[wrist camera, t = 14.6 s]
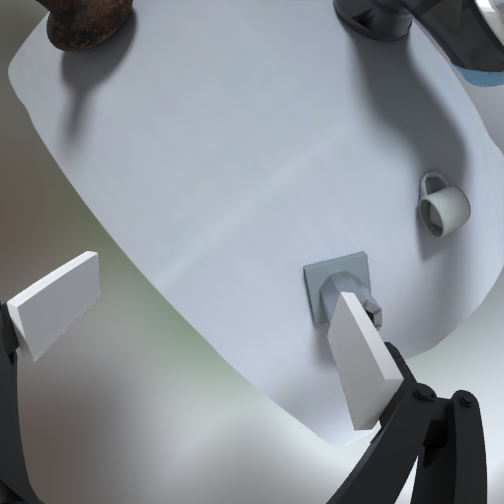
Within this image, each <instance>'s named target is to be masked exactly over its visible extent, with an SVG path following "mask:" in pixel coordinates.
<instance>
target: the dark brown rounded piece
mask: <svg viewBox="0 0 504 504" xmlns="http://www.w3.org/2000/svg"><path fill="white" fill-rule="evenodd" d="M36 1H38V2H39V3H41V4H42V5H43V6H44V7H45V8H47V9H48V10H49V11H50V14H49V17H48V20H47V35H48V38H49V40H50V42H51V43H52V44H53V45H54V46H55V47H56V48H58V49H60V50H63V51H68V52H75V51H82V50H85V49H89V48H91V47H94V46H96V45H98V44H100V43H102V42H103V41H105V40H106V39H108V38H109V37H110V36H112V35H113V34H114V33H115V32H116V31H117V30H118V29H119V28H120V27H121V25H122V24H123V23H124V21H125V20H126V18H127V17H128V15H129V13H130V10H131V8H132V3H133V0H36Z"/></svg>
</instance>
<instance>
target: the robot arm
mask: <svg viewBox="0 0 504 504" xmlns="http://www.w3.org/2000/svg"><path fill="white" fill-rule="evenodd" d="M333 3H334V7H335V9H336V11H337V13H338V15H339V16H340V17H341V18H342V20H343V21H344V22H345V23H346V24H347V25H349V26H350V27H351V28H352V29H354V30H355V31H357V32H359V33H360V34H362V35H364V36H366V37H369V38H372V39H375V40H379V41H394V40H397V39H400V38H401V37H402V36H404V35H405V34H406V33H407V32H408V31H409V29H410V28H411V25H412V19H413V17H415V18H416V19H417V20H418V21H419V22H420V24H421V25H422V26H423V27H424V28H425V29H426V30H427V31H428V33H429V34H430V35H431V36H432V37H433V38H434V39H435V41H436V42H437V43H438V44H439V46H440V47H441V48H442V49H443V51H444V52H445V53H446V55H447V56H448V57H449V59H450V61H451V63H452V64H453V65H454V66H455V67H456V68H457V69H458V70H459V72H460V73H461V74H462V76H463V77H464V78H465V80H467V81H468V82H469V83H471V84H472V85H475V86H479V87H492V86H498V85H503V84H504V0H333ZM100 298H101V293H100V281H99V268H98V253H95V252H90V251H86V252H85V253H83V254H81V255H80V256H78V257H76V258H74V259H73V260H71V261H69V262H68V263H66V264H64V265H63V266H61V267H60V268H58V269H56V270H55V271H53V272H51V273H50V274H48V275H47V276H45V277H44V278H42V279H41V280H39V281H37V282H36V283H34V284H33V285H31V286H29V287H27V288H26V289H24V291H22V292H20V293H19V294H17V295H16V296H14V297H13V298H11V299H10V300H9V301H7V302H6V303H4V304H3V305H1V302H0V504H45V503H43V502H42V501H40V500H39V499H38V497H37V495H36V494H35V492H34V491H33V489H32V487H31V485H30V483H29V479H28V475H27V470H26V465H25V460H24V455H23V449H22V442H21V435H20V426H19V415H18V399H17V353H16V349H17V348H18V347H19V346H20V349H21V351H22V354H23V357H25V358H27V359H28V360H30V361H32V362H35V361H36V360H37V359H38V358H39V357H40V356H41V355H42V354H43V353H44V352H45V351H46V350H47V349H48V348H49V347H50V346H51V345H52V344H53V343H54V342H55V341H56V340H57V339H58V338H59V337H60V336H61V335H62V334H63V333H64V332H65V331H66V330H67V329H68V328H69V327H70V326H71V325H72V324H73V323H74V322H75V321H76V320H77V319H78V318H79V317H80V316H81V315H82V314H83V313H85V311H87V310H88V309H89V308H90V307H91V306H92V305H93V304H94V303H95V302H96V301H97V300H98V299H100ZM327 338H328V341H329V344H330V348H331V351H332V354H333V357H334V360H335V364H336V367H337V370H338V374H339V377H340V380H341V384H342V387H343V391H344V394H345V398H346V401H347V405H348V408H349V412H350V415H351V419H352V423H353V426H354V430H369V429H373V427H374V426H375V424H376V423H377V421H378V420H379V421H380V424H381V429H380V430H379V431H378V433H377V434H376V436H375V437H374V438H373V439H372V441H371V442H370V443H371V444H370V446H369V447H368V449H367V450H366V452H365V453H364V455H363V456H362V458H361V459H360V461H359V462H358V463H357V465H356V466H355V468H354V469H353V470H352V472H351V473H350V474H349V476H348V477H347V478H346V480H345V481H344V483H343V484H342V485H341V486H340V488H339V489H338V490H337V491H336V493H335V494H334V495H333V496H332V497H331V499H330V500H329V501H328V502H327V503H326V504H394V503H395V502H396V500H397V498H398V496H399V494H400V492H401V490H402V488H403V486H404V484H405V482H406V480H407V478H408V476H409V474H410V472H411V470H412V468H413V465H414V463H415V461H416V459H417V456H418V462H417V469H416V476H415V481H414V487H413V492H412V497H411V502H410V504H487V466H486V451H485V442H484V433H483V427H482V420H481V414H480V408H479V403H478V401H477V399H476V397H475V396H474V395H473V394H471V393H470V392H468V391H465V390H458V391H456V392H455V393H454V394H453V396H452V398H451V399H445V398H438V397H437V396H436V393H435V392H434V391H433V390H432V389H431V388H430V387H429V386H427V385H425V384H422V383H417V381H416V380H415V378H414V376H413V374H412V373H411V371H410V369H409V368H408V366H407V364H405V361H404V359H403V358H402V356H401V354H400V353H399V351H398V349H397V348H396V347H394V346H393V345H392V344H391V343H390V342H383V341H382V339H381V337H380V335H379V334H378V332H377V330H376V329H375V327H374V325H373V324H372V322H371V320H370V319H369V317H368V315H367V314H366V312H365V310H364V309H363V307H362V305H361V304H360V302H359V301H358V299H357V297H356V296H355V294H354V293H348V292H340V295H339V298H338V302H337V305H336V308H335V312H334V315H333V318H332V321H331V325H330V328H329V331H328V334H327Z"/></svg>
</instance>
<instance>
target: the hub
mask: <svg viewBox="0 0 504 504" xmlns="http://www.w3.org/2000/svg"><path fill="white" fill-rule="evenodd" d="M340 292H348V293H354V294H355V296H356V297H357V299H358V301H359V302H360V304H361V305H362V307H363V309H364V310H365V312H366V314H367V315H368V317H369V319H370V320H371V322H372V324H373V325H374V327H375V329H376V330H377V331H378V330H379V329H380V328H381V327H382V313H381V308H380V306H379V305H378V303H377V302H376V301H375V299H374V298H373V297H372V295H371V294H370V293H369V291H368V290H367V288H366V287H365V286H364V284H363V283H362V282H361V280H360V279H359V278H357V277H356V276H354V275H353V274H351V273H350V272H348V271H342V272H338V273H334V274H330V275H329V276H328V277H327V279H326V280H325V282H324V283H323V285H322V286H321V287H320V294H321V299H322V304H323V307H324V310H325V312H326V315H327V318H328V320H329V323H330V325H331V321H332V318H333V315H334V312H335V308H336V305H337V302H338V298H339V295H340Z"/></svg>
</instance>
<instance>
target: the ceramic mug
mask: <svg viewBox="0 0 504 504" xmlns="http://www.w3.org/2000/svg"><path fill="white" fill-rule="evenodd" d="M431 177H432V178H434V177H436V178H438V179H439V180H440V181H441V182H442V184H443V185H444V187H445V188H444V189H442V190H439V191H437V192H434V193H432V194H429V195H428V194H427V192H426V188H425V180H426V179H427V178H431ZM420 188H421V192H422V196H423V198H421V199H420V201H419V213H420V217H421V220H422V222H423V225H424V226H425V228H426V230H427V231H428V232H429V233H430V234H431V235H432V236H433V237H434V238H437V239H441V238H443V237H445V236H446V235H448V234H449V233H451V232H452V231H454V230H455V229H457V228H458V227H460V226H462V225H463V224H464V223H465V222H466V221H467V220H468V219H469V217H470V204H469V201H468V199H467V197H466V195H465V194H464V193H463V191H462V190H461V189H459V188H457V187H454V186H452V187H450V186H449V184H448V182H447V181H446V179H445V178H444V177H443V176H442V175H441V174H439V173H437V172H429V173H427V174H426V175H425V176H424V177H423V178H422V179H421V183H420Z"/></svg>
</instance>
